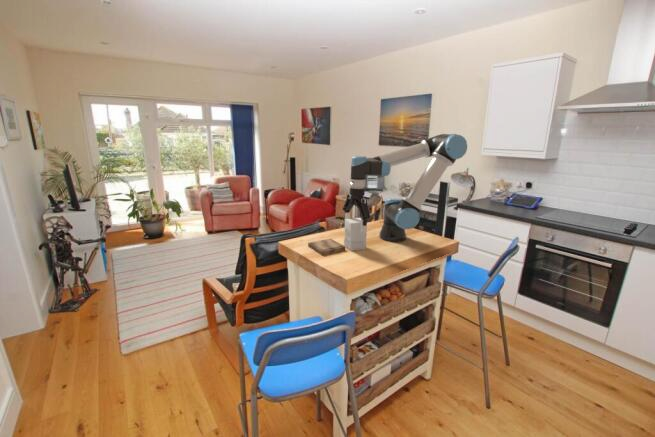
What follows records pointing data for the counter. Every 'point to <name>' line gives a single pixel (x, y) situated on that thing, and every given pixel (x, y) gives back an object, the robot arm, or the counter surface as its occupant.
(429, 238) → the counter surface
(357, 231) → the supplement box
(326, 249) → the walnut stand
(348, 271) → the counter surface
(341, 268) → the counter surface
